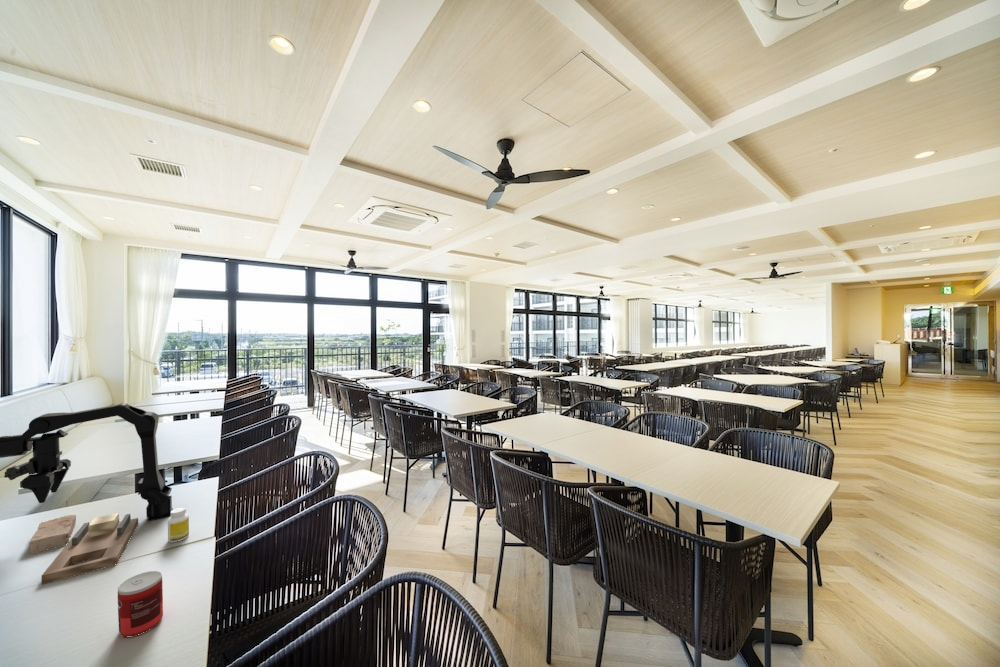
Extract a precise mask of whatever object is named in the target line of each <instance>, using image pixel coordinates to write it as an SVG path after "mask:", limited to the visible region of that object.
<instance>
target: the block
mask: <svg viewBox="0 0 1000 667" xmlns="http://www.w3.org/2000/svg"><path fill="white" fill-rule="evenodd" d="M119 522H120V512H116V513H113V514H106V515H102V516H97V517H94V518H93V519H92V520H91V522H89V526H88V528H89V537H94V536H98V535H102V534H107V533H111V532H115V530H116V528H117V527H118V525H119Z"/></svg>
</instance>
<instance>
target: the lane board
mask: <svg viewBox="0 0 1000 667" xmlns="http://www.w3.org/2000/svg"><path fill="white" fill-rule="evenodd" d="M89 524H90V522H85V523H83V524H82V525H81V526H80V528H79V529H78V530H77V532H75V534H74V535H73V536H71V537H72V538H70V539H69V542H68V544H67V545H65V546H63V548H62V549H61V551H60V552H59V554H58V555H57V556H56V557H55V558H54V559H53V561H52V562H51V563H50V564H49V566H47V568H46V569H45V571H44V572H43V573H42V574H41V585H45V584H49V583H52V582H56V581H60V580H63V579H64V580H65V579H68V578H71V577H75V576H74V575H76V576H78V574H80V575H82V574H81V573H83V574H86V573H85V572H87V573H90V572H89V571H91V572H94V571H93V570H95V571H98V570H97V569H99V570H102V569H105V568H104V567H106V568H109V567H108V566H110V567H113V566H112V565H114V566H116V565H115V564H117V565H118V563H119V562H120V560H119V559H121V558H122V556H123V554H124V552H125V551H126V549H125V548H127V547H126V546H128V545H129V543H130V541H131V539H132V537H133V536H134V534H133V533H135V532H136V530H137V528H138V526H139V518H138V517H136V518H131V513H127V514H124V517H123V519H122V520H121V521H119V525H118V527H117V528H116V530H115V532H111V533H107V534H102V535H98V536H94V537H89V528H88V526H89ZM137 525H138V526H137ZM136 527H137V528H136ZM135 529H136V530H135ZM134 531H135V532H134ZM131 536H132V537H131ZM130 538H131V539H130ZM129 540H130V541H129ZM128 542H129V543H128ZM127 544H128V545H127ZM122 553H123V554H122ZM121 555H122V556H121ZM120 557H121V558H120ZM83 561H84V562H83ZM118 561H119V562H118ZM101 568H102V569H101ZM48 582H49V583H48ZM44 583H45V584H44Z"/></svg>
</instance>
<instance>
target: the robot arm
mask: <svg viewBox="0 0 1000 667" xmlns="http://www.w3.org/2000/svg"><path fill="white" fill-rule="evenodd" d="M112 417H119V418H121V419H123V420H124V421H126V422H128V424H132V425H134V428H135V431H136V433H137V435H138V437H139V438H140V445H141V446H140V447H141V456H142V466H143V468H142V469H143V478H140V479H139V481H138V482H137V488H138V493H137V495H138V496H139V495H140V498H141V499H143V500H145V501H147V506H146V508H145V509H146V518H147V520H146V521H148V522H150V521H154V519H155V520H158V519H163V518H167V517H171V516H170V512H171V511H172V510H174V508H173V503H172V501H173V498H172V495H170V494H171V492H172V487H171V486H168V485H166V484H165V483H164V479H163V477H162V474H161V473H160V471H159V462H158V461H159V460H158V449H157V431H158V425H159V420H160V417H159V414H158V413H155V412H154V411H146V410H144V409H141V408H138V407H135V406H132V405H130V404H128V403H124V402H121V403H119V404H114V405H113V404H112V405H108V406H104V407H103V406H102V407H97V408H92V409H86V410H80V411H73V412H53V413H52V412H50V413H45V414H41V415H40V416H36V417H35V418H33V419H32V420H30V422H29V424H28V428H27V429H26V431H24V432H23V433H22V434H18V435H17V434H16V435H3V436H0V459H4V458H9V457H18V456H25V455H26V454H28V452H30V451H32V457H31V458H29V459H28V461H27V462H24V463H21V464H18V465H13V466H11V467H8V468H7V469H6V470H5V471H4V472H3V473H4V476H3V477H4V478H6V479H7V478H8V480H9V481H13V480H15V479H17V478H20V477H22V476H24V475H27V474H28V475H27V476H26V477H24V478H23V479H22V480H21V481H20V482H19V488H20V489H24V490H30V491H32V493H33V495H34V496H35V498H36V500H37V502H38V503H39V504H43V503H45V502H46V501H47V498H48V497H49V494H50V493H53V494H54V493H56V492H57V491H58V489H59V487H61V484H62V482H63V480H64V478H65V477H66V474H67V473H68V471H69V470H70V467H71V466H72V461H71V460H70V459H68V458H64V459H61V455H63V451H62V450H60V439H61V438H65V437H66V436H68V435H69V432H67V431H64V430H63V428H66V427H68V426H72V425H76V424H83V423H86V422H91V421H97V420H101V419H102V420H103V419H107V418H108V419H109V418H112ZM54 431H55V432H54ZM37 435H41V436H37Z"/></svg>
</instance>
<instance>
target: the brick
mask: <svg viewBox="0 0 1000 667" xmlns="http://www.w3.org/2000/svg"><path fill="white" fill-rule="evenodd" d="M76 524H77V515H76V514H67V515H64V516H60V517H56V518H54V519H49V520H46V521H41V522H40V523H39V524H38V527H37V530H36V531H35V532H34V534H33V535H32V537H31V538H30V541H29V554H31V555H33V554H37V553H38V554H39V553H41V551H42V552H44V550H45V551H48V550H47V549H49V550H52V549H51V548H53V549H56V548H55V547H58V548H61V547H64V546H63V545H65V546H66V544H67V543H68V542H69V541H70V539H71V537H72V535H71V534H73V532H74V530H73V529H75V527H76ZM69 538H70V539H69ZM60 546H61V547H60Z"/></svg>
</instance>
